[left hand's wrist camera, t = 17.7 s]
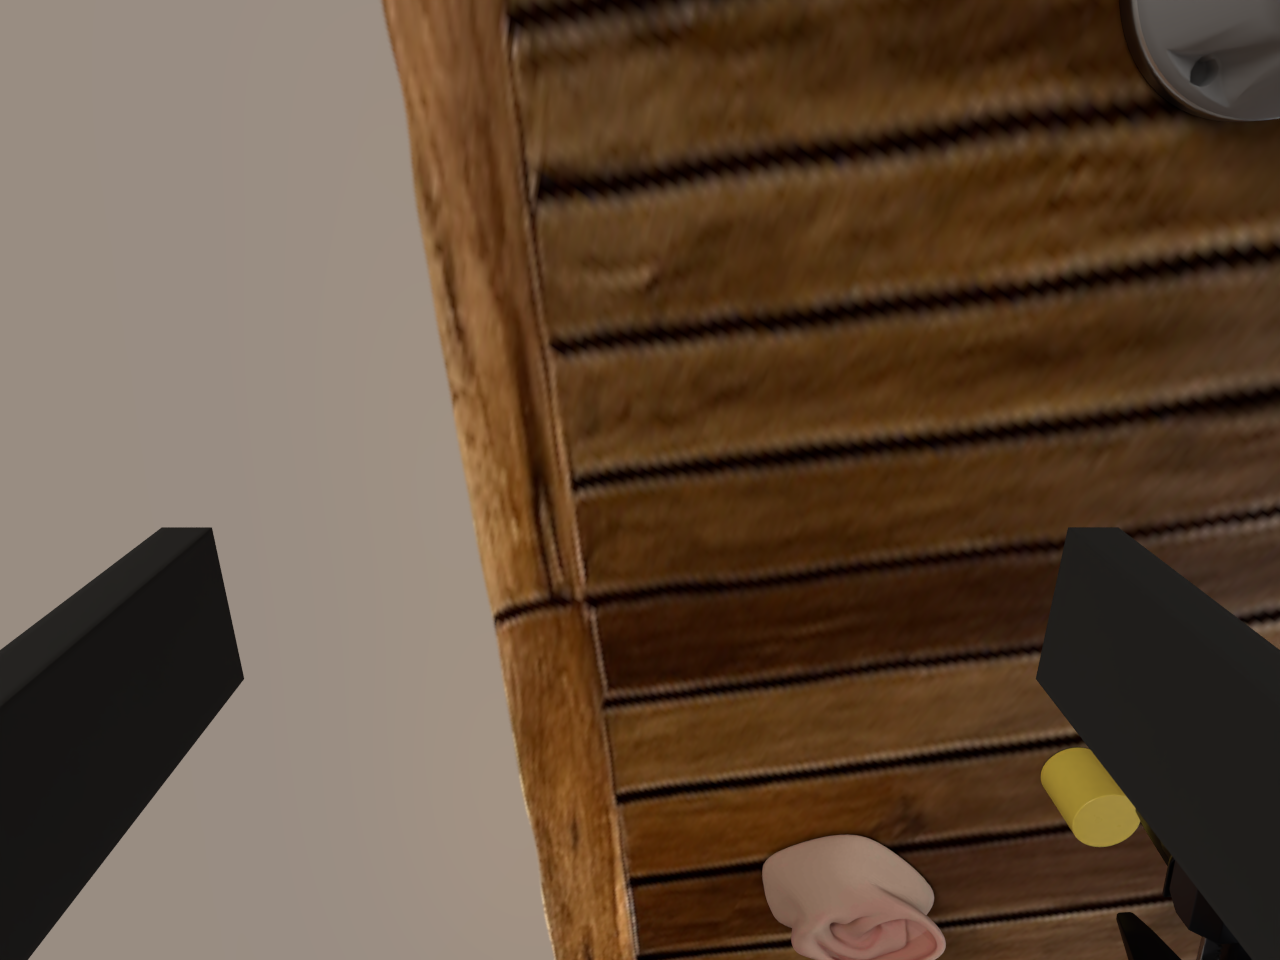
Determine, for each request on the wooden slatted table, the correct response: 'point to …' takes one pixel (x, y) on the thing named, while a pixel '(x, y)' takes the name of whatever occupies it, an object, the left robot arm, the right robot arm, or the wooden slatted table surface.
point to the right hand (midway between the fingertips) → (1133, 862)
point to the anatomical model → (851, 901)
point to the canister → (1088, 798)
